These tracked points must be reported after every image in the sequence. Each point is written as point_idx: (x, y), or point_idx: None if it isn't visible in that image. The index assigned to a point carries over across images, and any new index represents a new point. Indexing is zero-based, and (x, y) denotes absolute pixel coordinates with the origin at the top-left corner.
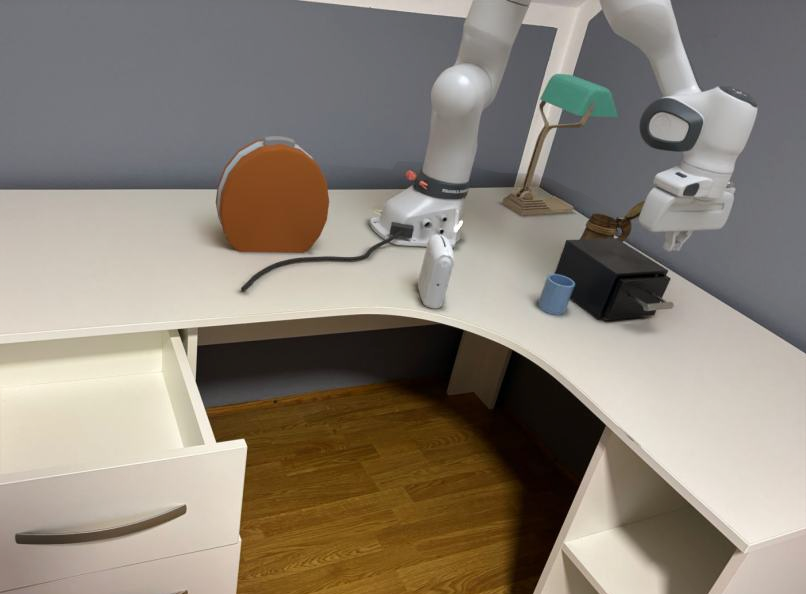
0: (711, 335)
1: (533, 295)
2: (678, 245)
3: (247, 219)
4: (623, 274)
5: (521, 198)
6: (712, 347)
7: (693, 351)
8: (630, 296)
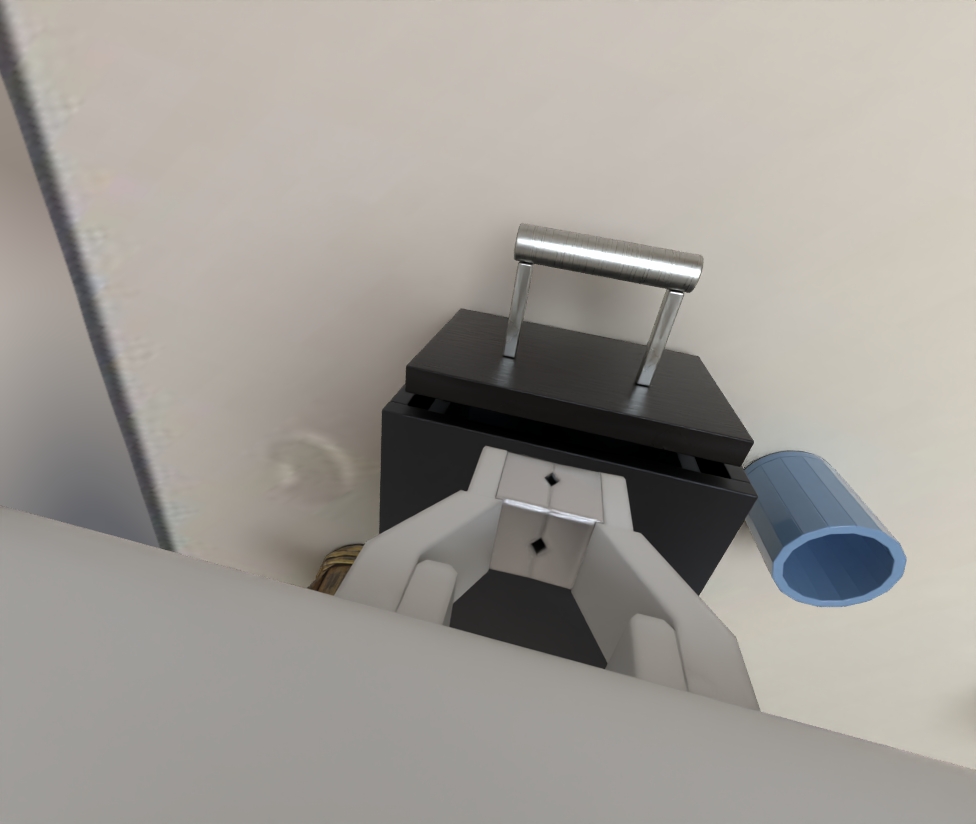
0: (313, 119)
1: (750, 550)
2: (525, 488)
3: None
4: (700, 479)
5: None
6: (393, 32)
7: (523, 37)
8: (651, 377)
